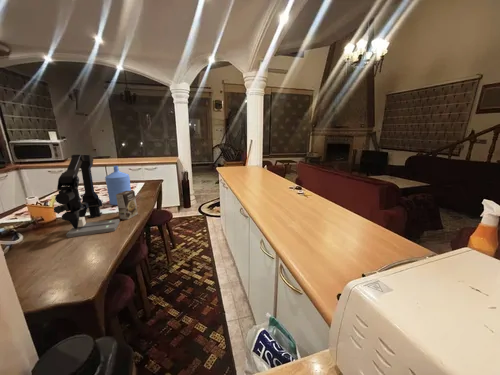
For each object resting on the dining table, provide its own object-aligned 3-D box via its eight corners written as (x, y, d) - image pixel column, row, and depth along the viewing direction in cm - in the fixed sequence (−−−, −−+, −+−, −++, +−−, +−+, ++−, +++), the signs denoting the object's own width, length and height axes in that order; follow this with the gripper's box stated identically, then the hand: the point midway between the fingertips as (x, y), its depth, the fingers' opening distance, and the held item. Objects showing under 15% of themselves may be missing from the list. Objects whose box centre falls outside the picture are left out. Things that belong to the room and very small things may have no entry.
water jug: (126, 205, 160) (120, 168, 153) (105, 205, 161) (97, 168, 153) (137, 198, 175) (131, 164, 168) (117, 198, 176) (111, 164, 168)
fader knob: (75, 226, 122) (73, 217, 121) (86, 224, 123) (84, 216, 122) (72, 229, 118) (70, 220, 117) (83, 227, 120) (81, 219, 119)
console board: (76, 227, 126) (75, 223, 126) (119, 221, 133) (119, 218, 133) (67, 237, 114) (66, 233, 114) (114, 230, 121) (114, 227, 121)
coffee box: (128, 219, 136) (124, 194, 132) (119, 218, 138) (115, 194, 133) (138, 214, 145) (134, 190, 141) (129, 213, 146) (126, 190, 142)
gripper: (62, 194, 122) (68, 220, 126) (45, 205, 105) (53, 234, 109) (85, 192, 126) (91, 217, 130) (73, 202, 109) (79, 231, 113)
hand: (79, 224), depth 121 cm, fingers open, 9 cm apart
